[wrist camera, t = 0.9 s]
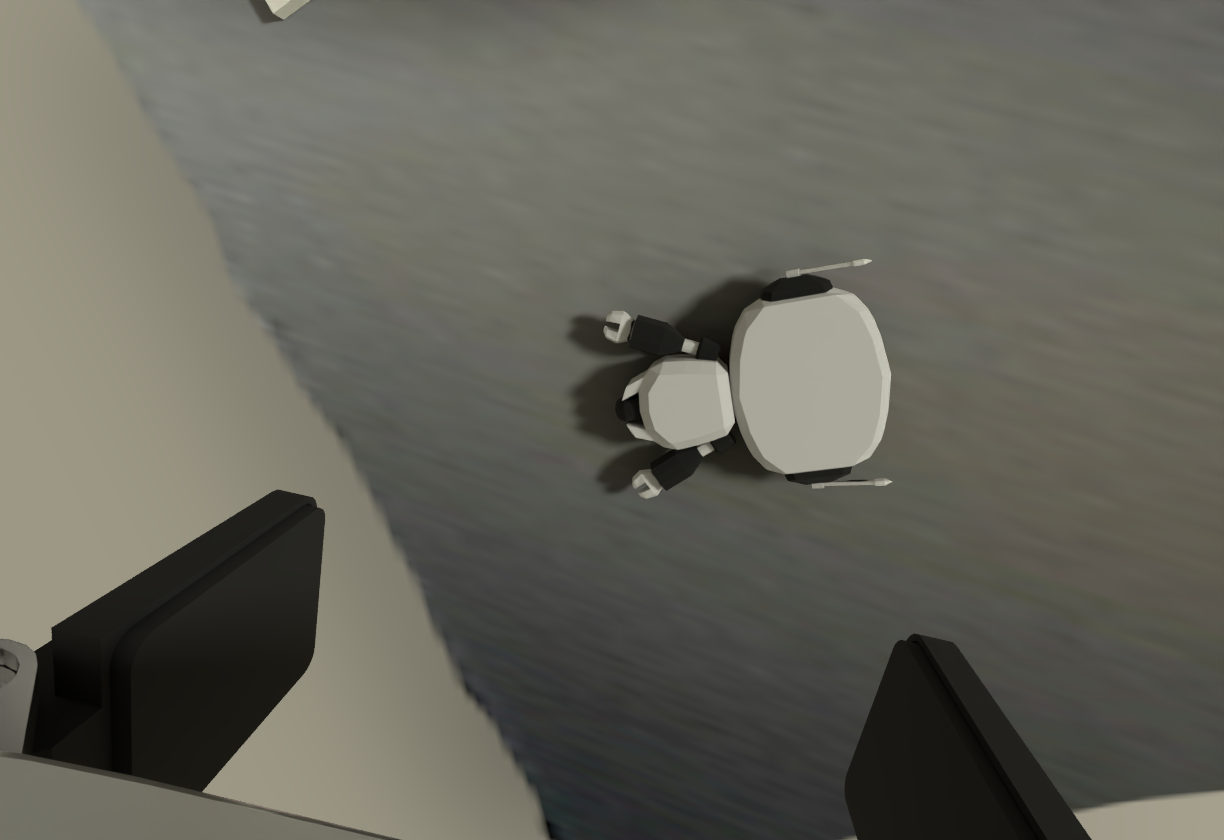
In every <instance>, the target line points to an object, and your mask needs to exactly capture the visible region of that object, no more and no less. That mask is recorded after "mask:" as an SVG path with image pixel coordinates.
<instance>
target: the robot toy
mask: <svg viewBox="0 0 1224 840" xmlns="http://www.w3.org/2000/svg"><path fill="white" fill-rule="evenodd" d="M870 261H872V260H868V259H859V260H854V261H852V262H846V263H840V264H834V265H828V266H822V267H816V268H810V269H804V270H800V269H793V270H787V271H786V276H787V277H786V278H780V279H778V280H776V281H774V282H773V283H771V284H770V285H768V286H767V287H765V288H764V289H762V290H761V296H760V298H759V299H758V300H756V301H755V302H754V303H752V304H751V305H749V306H748V307H746V308H745V309H744V310H743V312H742V313H741V315H740V317H739V319H738V321H737V323H736V325H735V327H734V331H733V335H732V341H731V348H730V356H729V373H728V367H727V365H726V364H725V363H724V362H723V361H722V360H721V359H720V358H719V357H718V354H719V351H720V347H721V343H722V342H719V341H716V340H712V339H708V338H705V337H704V338H702V339H701V340H700V342H696V341H692V340H688V339H685V338H684V337H683V336H682V335H681V334H680V333H679V332H678V331H676V330H675V329H674V328H673V327H672V326H671V325H669V324H668V323H666V322H662V321H659V320H655V319H651V318H648V317H644V316H641V315H638V317H637V319H636V321H635V320H634V319H633V318H632V317H630V316H629V315H628V314H627V313H626V312H625V311H612V312H611V313H609V314H608V316H607V319H606V321H610V322H614V323H618V324H620V327H619V330H616V329H613V328H610V327H608V326H605V327H604V334H605V337H606V338H607V339H609V340H611V341H613V342H614V343H621V342H627V341H630V344H629V347H630V348H634V349H637V350H641V351H644V352H648V353H651V354H655V355H665V354H671V353H676V352H681V351H682V352H686V353H689V354H679V355H666V356H664V357H662V358H660V359H658V360H656V361H654V362H653V364H652V365H651V366H650V367H649V369H648V370H646V371H645V372H643V373H641V374H639V375H637V376H636V377H634V378H632V379H631V380H630V382H629V383H628V385H627V387H626V389H625V393H624V396H623V397H622V398H620V399H618V400H617V402H616V405H615V410H616V414H617V416H618V418H619V419H620V420H622V421H629V422H628V424H627V427H628V428H629V429H630V431H631V432H632V433H633V435H634V436H635V437H636V438H641V439H645V440H650V441H655V442H656V443H658V444H659V445H661V446H662V447H665V448H671V449H673V450H671V451H669V452H668V453H666V454H665V455H663V456H661V457H660V458H658V459H657V460H655V461H653V462H652V463H651V469H646V470H639V471H638V472H637V473H636V474H635V475H634V476H633V478H632V484H633V487H634V488H635V489H636V488H637V487H638V486H640V485H642V484H643V483H645V482H646V484H647V485H648V486H647V487H645V488H643V489H641V490H639V492H638V494H639V495H640V496H641V497H643V498H646V499H648V498H651V497H654V496H657V495H658V494H659V492H660V491H661V489H662V487H663V488H664V489H665V490H666V491H667V490H668V489H670V488H672V487H673V486H675V485H677V484H678V483H680V482H682V481H683V480H685V479H687V478H688V477H690V476H691V475H692V474H693V473H694V471H695V470H696V468H697V467H698V465H699V464H700V462H701V460H702V459H703V457H704V456H705V455H707V454H708V453H710V452H712V451H713V450H715V451H716V452H718V453H722V452H723V451H725V450H727V449H728V448H730V447H732V446H733V445H735V444H736V440H735V437H734V436H733V434H732V433H731V431H730V430H731V428H732V426H733V425H734V423H735V417H736V420H737V423H738V426H739V429H740V432H741V434H742V436H743V438H744V441H745V443H746V445H747V447H748V449H749V451H750V452H751V454H752V455H753V457H754V458H755V459H756V460H757V461H758V462H759V463H760V464H761V465H762V466H763V467H764V468H765V469H766V470H770V471H774V472H777V473H781V474H785V476H786V478H787V480H788V481H791V482H796V483H801V484H805V485H808V484H812V488H824V486H836V485H875V486H885V485H887V484H889V483H891V482H892V481H890V480H887V479H885V478H876V479H875V480H837V479H839V478H841V477H843V476H846V475H848V474H850V472H851V468H852V466H854V465H856V464H858V463H860V462H861V461H863V460H865V459H867V458H869V457H870V456H871V455H872V453H873V452H874V450H875V449H876V447H877V446H878V444H879V442H880V441H881V438H882V435H883V432H884V429H885V424H886V419H887V415H888V407H889V394H890V382H891V372H890V368H889V364H888V360H887V356H886V353H885V349H884V345H883V341H882V337H881V335H880V332H879V330H878V328H877V325H876V323H875V320H874V318H873V316H872V315H871V313H870V311H869V309H868V308H867V307H866V306H865V305H864V304H863V303H862V302H861V301H860V300H859V299H858V298H857V297H856V296H855V295H854V294H852V293H850V292H847V291H844V290H840V289H837V288H834V287H833V286H832V284H831V282H830V280H828V279H825V278H822V277H818V276H815V275H809V274H804V273H810V272H817V271H823V270H829V269H835V268H841V267H848V266H859V265H864V264H866V263H868V262H870ZM800 274H803V275H800ZM637 392H639V394H635V393H637ZM734 413H735V417H734ZM834 480H836V481H834Z"/></svg>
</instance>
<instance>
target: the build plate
mask: <svg viewBox="0 0 1224 840" xmlns="http://www.w3.org/2000/svg"><path fill="white" fill-rule="evenodd" d="M265 1H266V2H267V4H268V6H269V7H270V9H271V11H272V12H273V14H275V15H276V16H278V17H280V18H281V19H283V20H284V19H286V18H287V17H288V16H290V15H291V14H293V13H294V12H295V11H297V10H298V9H299V8H301V7H302V6H303V5H305V4H306V3H307V2H309V1H310V0H265Z"/></svg>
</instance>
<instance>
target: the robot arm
mask: <svg viewBox="0 0 1224 840" xmlns="http://www.w3.org/2000/svg"><path fill="white" fill-rule="evenodd" d="M324 525H325V513H324V510H323V509H321V508H317V505H316V501H315V499H314V498H313V497H309V496H304V495H300V494H296V493H291V492H286V491H282V490H275V491H273V492H271V493H269V494H268V495H266V496H265V497H263V498H261V499H260V500H258V501H256V502H255V503H253V504H252V505H250V506H248V507H247V508H245V509H243V510H242V511H240V512H239V513H237V514H236V515H234V516H232V517H230V518H229V519H227V520H226V521H224V522H223V523H221V524H219V525H218V526H216V527H214V528H213V529H211V530H209V531H208V532H206V533H205V534H203V535H201V536H200V537H198V538H196V539H195V540H193V541H192V542H190V543H188V544H187V545H185V546H184V547H182V548H180V549H179V550H177V551H175V552H174V553H172V554H170V555H169V556H167V557H166V558H164V559H162V560H161V561H159V562H157V563H156V564H154V565H153V566H151V567H149V568H148V569H146V570H144V571H143V572H141V573H140V574H138V575H136V576H135V577H133V578H132V579H130V580H128V581H127V582H125V583H123V584H122V585H121V586H119V587H117V588H115V589H114V590H112V591H110V592H109V593H107V594H106V595H104V596H102V597H101V598H99V599H98V600H96V601H94V602H93V603H91V604H89V605H88V606H86V607H85V608H83V609H81V610H80V611H78V612H76V613H75V614H73V615H72V616H70V617H68V618H67V619H65V620H64V621H62V622H60V623H59V624H57V625H55V626H54V627H52V640H51V641H50V642H48V643H47V644H45V645H44V646H42V647H40V648H39V649H37V650H36V651H32V650H31V649H30V648H29V647H28V646H27V645H25V644H22V643H19V642H16V641H13V640H9V639H0V840H400V839H396V838H391V837H387V836H383V835H379V834H375V833H371V832H367V831H363V830H358V829H354V828H350V827H346V826H342V825H337V824H333V823H329V822H325V821H321V820H316V819H312V818H308V817H303V816H300V815H296V814H291V813H287V812H283V811H279V810H274V809H270V808H266V807H262V806H258V805H253V804H249V803H245V802H241V801H237V800H233V799H228V798H224V797H220V796H216V795H211V794H207V793H203V792H202V791H203V790H204V789H205V788H206V787H207V785H208V784H209V783H210V782H211V781H212V780H213V778H214V777H215V776H216V775H217V774H218V772H219V771H220V770H221V769H222V768H223V767H224V766H225V764H226V763H227V762H228V761H229V760H230V759H231V758H232V756H233V755H234V754H235V753H236V752H237V751H238V749H239V748H240V747H241V746H242V745H243V744H244V743H245V741H246V740H247V739H248V738H249V737H250V736H251V734H252V733H253V732H254V731H255V730H256V729H257V727H258V726H259V725H260V724H261V723H262V722H263V721H264V719H265V718H266V717H267V716H268V715H269V714H270V712H271V711H272V710H273V709H274V707H276V705H277V704H278V703H279V702H280V701H281V700H282V698H283V697H284V696H285V695H286V694H287V693H288V692H289V690H290V689H291V688H292V687H293V686H294V685H295V683H296V682H297V681H298V680H299V679H300V678H301V676H302V675H303V674H304V673H305V671H306V670H307V668H308V666H309V664H310V662H311V660H312V657H313V654H314V648H315V636H316V624H317V612H318V599H319V587H320V575H321V563H322V550H323V538H324ZM845 799H846V803H847V806H848V810H849V813H850V816H851V820H852V823H853V826H854V829H855V833H856V836H857V839H858V840H1092V839H1091V838H1090V837H1089V835H1088V834H1087V832H1086V831H1085V829H1084V828H1083V827H1082V825H1081V824H1080V822H1079V821H1078V819H1077V818H1076V817H1075V815H1074V814H1073V812H1072V811H1071V809H1070V808H1069V807H1068V805H1067V804H1066V802H1065V801H1064V799H1063V798H1062V796H1061V795H1060V794H1059V792H1058V791H1057V789H1056V788H1055V786H1054V785H1053V784H1052V782H1051V781H1050V779H1049V778H1048V776H1047V775H1046V774H1045V772H1044V771H1043V769H1042V768H1041V766H1040V765H1039V763H1038V762H1037V761H1036V759H1035V758H1034V756H1033V755H1032V753H1031V752H1030V751H1029V749H1028V748H1027V746H1026V745H1025V743H1024V742H1023V741H1022V739H1021V738H1020V736H1019V735H1018V733H1017V732H1016V730H1015V729H1014V728H1013V726H1012V725H1011V723H1010V722H1009V720H1008V719H1007V718H1006V716H1005V715H1004V713H1003V712H1002V710H1001V709H1000V708H999V706H998V705H997V703H996V702H995V700H994V699H993V698H992V696H991V695H990V693H989V692H988V690H987V689H986V687H985V686H984V685H983V683H982V682H981V680H980V679H979V677H978V676H977V675H976V673H975V672H974V670H973V669H972V667H971V666H970V665H969V663H968V662H967V660H966V659H965V657H964V656H963V654H962V653H961V652H960V650H959V649H958V647H957V646H956V645H955V644H954V643H953V642H950V641H945V640H941V639H937V638H932V637H928V636H923V635H919V634H913V635H911V636H910V637H909V638H908V639H907V641H904V640H900V641H898V642H897V643H896V644H895V646H894V648H893V651H892V653H891V656H890V659H889V661H888V664H887V667H886V669H885V672H884V675H883V678H882V680H881V683H880V686H879V688H878V691H877V694H876V696H875V699H874V702H873V705H872V707H871V710H870V713H869V715H868V718H867V721H866V723H865V726H864V729H863V731H862V734H861V737H860V740H859V742H858V745H857V748H856V750H855V753H854V756H853V758H852V761H851V764H850V767H849V769H848V772H847V775H846V780H845Z"/></svg>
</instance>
